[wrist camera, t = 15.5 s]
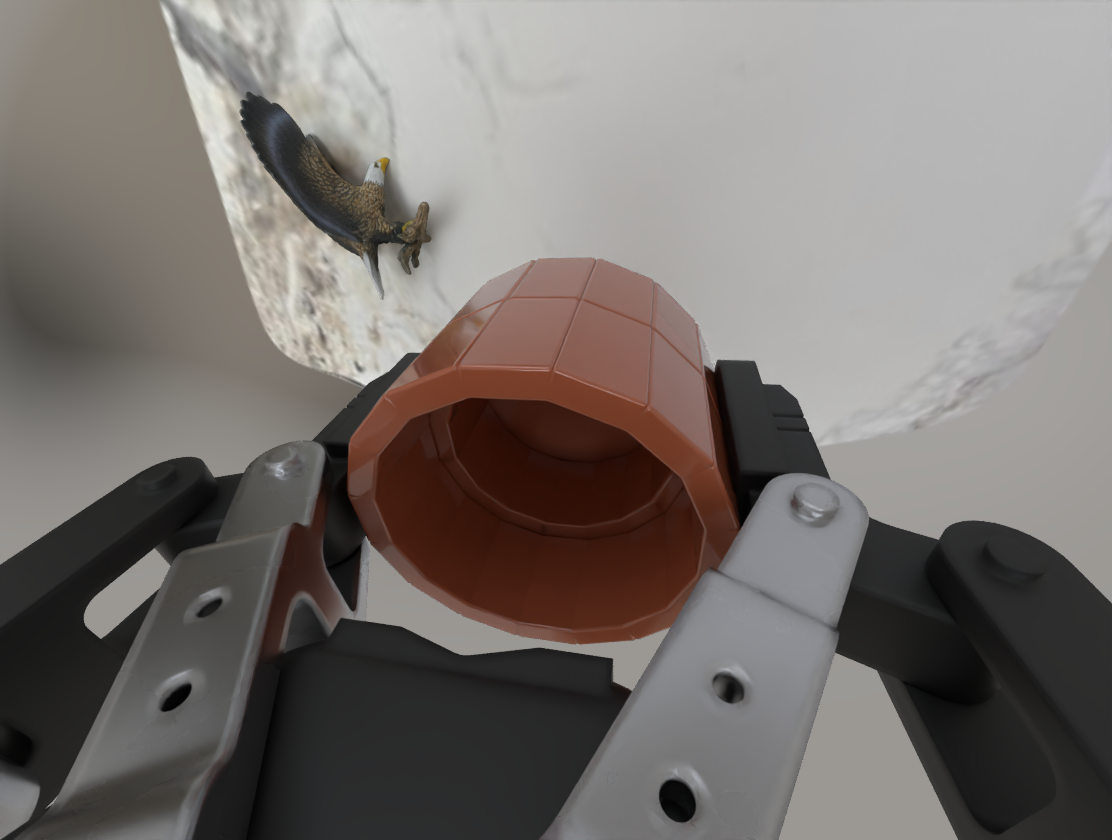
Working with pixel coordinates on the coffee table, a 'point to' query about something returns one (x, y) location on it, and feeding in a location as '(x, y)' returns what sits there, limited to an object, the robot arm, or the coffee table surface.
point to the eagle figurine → (330, 189)
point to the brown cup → (553, 458)
